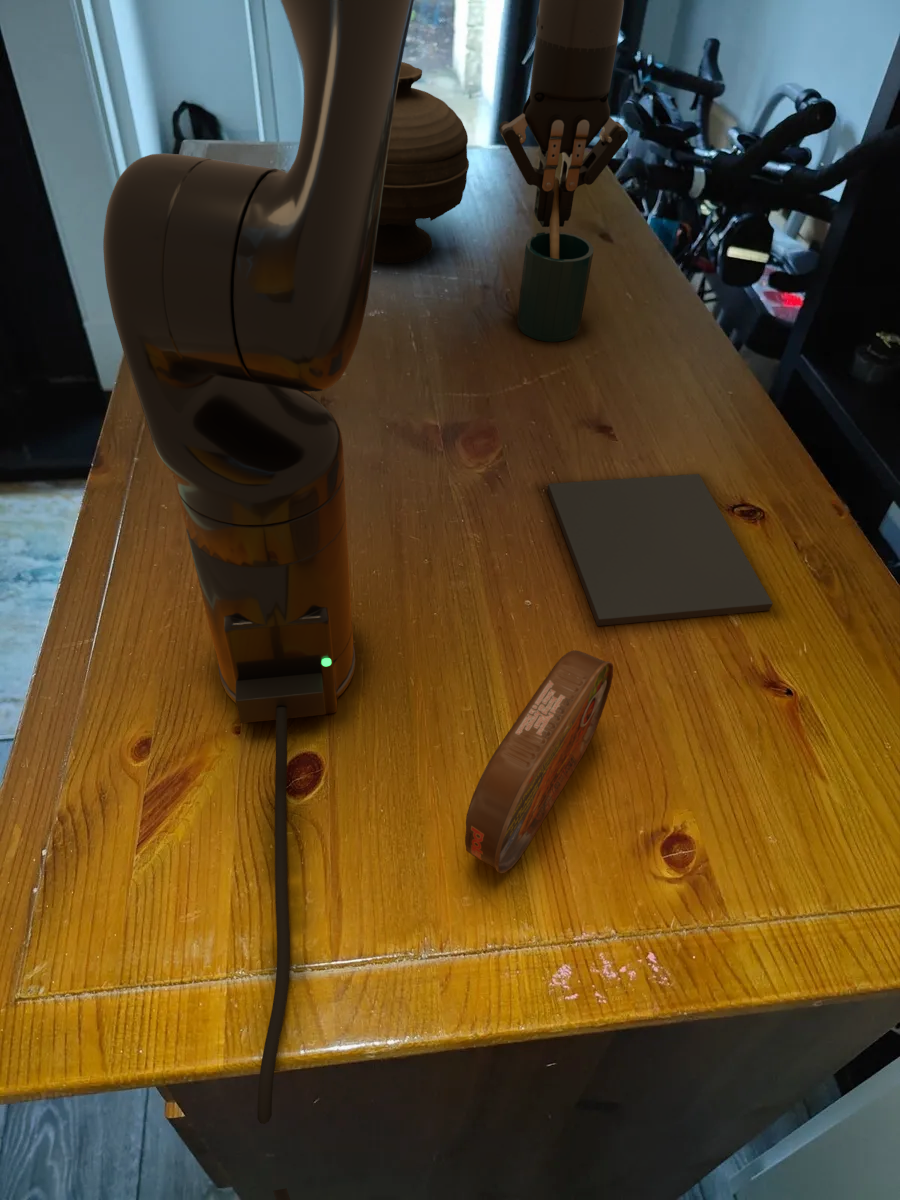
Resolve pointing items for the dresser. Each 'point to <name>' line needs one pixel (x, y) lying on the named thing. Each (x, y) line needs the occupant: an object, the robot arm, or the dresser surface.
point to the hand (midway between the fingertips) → (551, 223)
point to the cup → (554, 287)
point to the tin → (536, 759)
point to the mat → (654, 550)
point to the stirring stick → (555, 223)
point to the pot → (419, 170)
